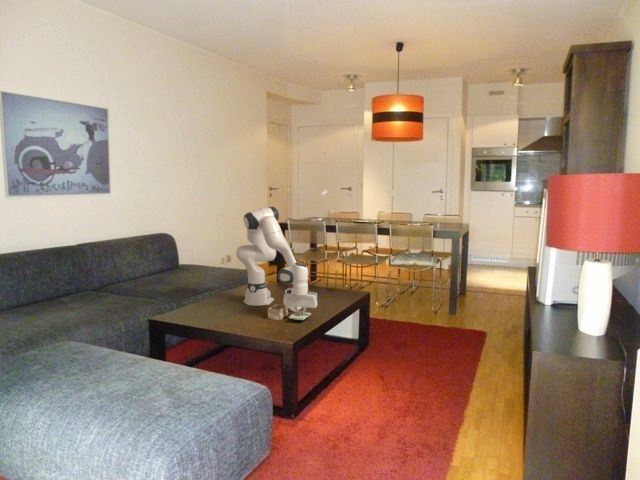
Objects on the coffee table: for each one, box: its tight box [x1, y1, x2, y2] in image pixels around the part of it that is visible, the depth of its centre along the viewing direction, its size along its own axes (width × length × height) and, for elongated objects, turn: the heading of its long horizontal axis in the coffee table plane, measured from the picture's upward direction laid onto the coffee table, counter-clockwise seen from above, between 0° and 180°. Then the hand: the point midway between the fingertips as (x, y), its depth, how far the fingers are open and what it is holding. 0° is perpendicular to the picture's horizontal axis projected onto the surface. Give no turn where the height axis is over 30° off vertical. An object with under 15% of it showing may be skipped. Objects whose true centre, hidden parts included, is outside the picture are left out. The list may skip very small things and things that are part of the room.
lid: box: [288, 308, 312, 321], centre depth 289 cm, size 13×9×4 cm
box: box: [267, 303, 289, 321], centre depth 296 cm, size 12×8×6 cm, turn 162°
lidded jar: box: [288, 306, 303, 313], centre depth 312 cm, size 11×11×9 cm
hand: (300, 313), depth 289 cm, fingers closed on lid, 2 cm apart
